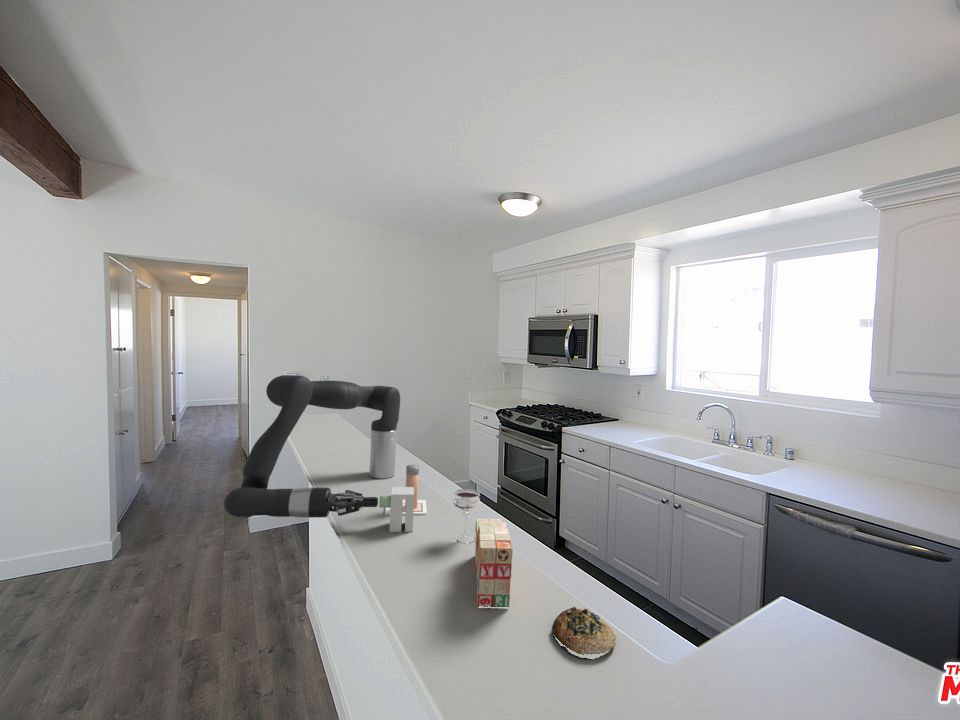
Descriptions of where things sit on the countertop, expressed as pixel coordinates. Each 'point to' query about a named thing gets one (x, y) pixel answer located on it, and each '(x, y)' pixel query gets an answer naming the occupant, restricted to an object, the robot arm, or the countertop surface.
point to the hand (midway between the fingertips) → (377, 502)
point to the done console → (396, 508)
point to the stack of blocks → (493, 563)
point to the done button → (385, 502)
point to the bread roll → (583, 632)
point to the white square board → (418, 511)
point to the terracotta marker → (412, 481)
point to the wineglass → (466, 508)
